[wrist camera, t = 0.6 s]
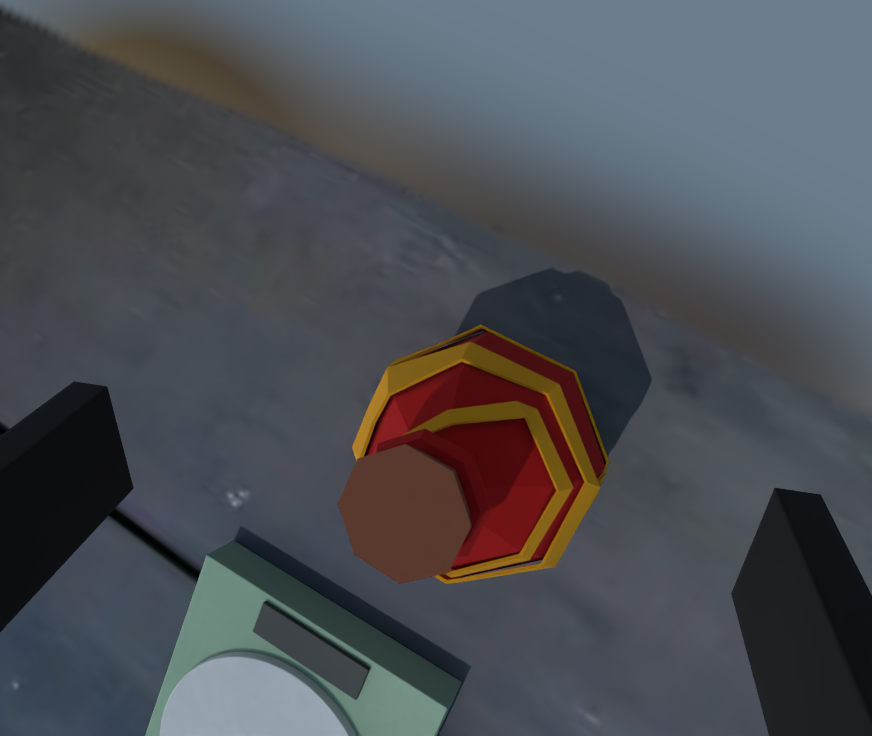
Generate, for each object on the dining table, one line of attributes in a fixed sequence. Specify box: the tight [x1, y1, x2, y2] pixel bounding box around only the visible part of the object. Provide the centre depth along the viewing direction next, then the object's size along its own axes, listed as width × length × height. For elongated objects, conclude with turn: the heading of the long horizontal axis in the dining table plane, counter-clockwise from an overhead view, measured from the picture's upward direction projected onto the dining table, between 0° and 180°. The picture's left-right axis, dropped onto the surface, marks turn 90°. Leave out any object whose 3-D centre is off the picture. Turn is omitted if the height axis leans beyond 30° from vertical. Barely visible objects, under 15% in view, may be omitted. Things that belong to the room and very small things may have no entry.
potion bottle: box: [338, 325, 610, 584], centre depth 25 cm, size 10×10×15 cm
